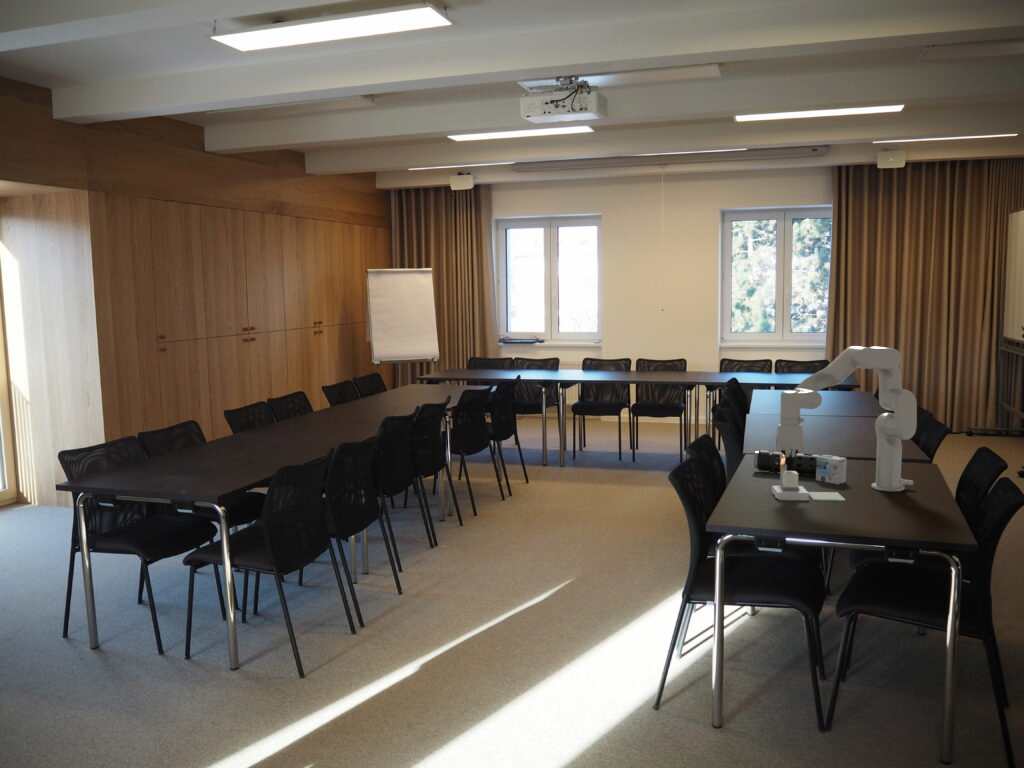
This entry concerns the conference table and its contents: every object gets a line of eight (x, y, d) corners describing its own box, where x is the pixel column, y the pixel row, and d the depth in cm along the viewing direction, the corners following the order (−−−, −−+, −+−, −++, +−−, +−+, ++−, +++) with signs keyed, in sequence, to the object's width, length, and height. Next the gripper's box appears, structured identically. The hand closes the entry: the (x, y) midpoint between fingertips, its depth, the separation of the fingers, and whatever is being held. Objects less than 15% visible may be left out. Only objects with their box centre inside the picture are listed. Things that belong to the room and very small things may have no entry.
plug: (795, 495, 345) (796, 470, 344) (798, 498, 340) (799, 473, 339) (781, 494, 346) (781, 470, 345) (783, 498, 340) (784, 473, 339)
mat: (837, 493, 346) (837, 492, 346) (845, 501, 335) (845, 499, 335) (807, 493, 348) (807, 491, 348) (813, 500, 336) (813, 499, 336)
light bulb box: (815, 480, 371) (816, 456, 370) (823, 478, 375) (824, 454, 374) (838, 484, 363) (839, 459, 361) (846, 482, 367) (847, 457, 366)
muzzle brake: (817, 479, 373) (818, 456, 372) (752, 473, 386) (753, 451, 384) (820, 475, 381) (821, 452, 380) (757, 469, 394) (757, 447, 393)
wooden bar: (779, 459, 357) (780, 454, 357) (787, 459, 356) (788, 455, 356) (777, 468, 339) (778, 463, 339) (786, 469, 338) (786, 464, 338)
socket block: (796, 487, 358) (797, 459, 356) (808, 500, 336) (809, 470, 335) (767, 487, 359) (768, 459, 358) (777, 499, 338) (778, 470, 336)
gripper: (807, 420, 345) (806, 464, 347) (769, 420, 347) (768, 464, 349) (811, 423, 338) (810, 468, 340) (772, 423, 339) (772, 468, 341)
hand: (789, 466), depth 344 cm, fingers closed
